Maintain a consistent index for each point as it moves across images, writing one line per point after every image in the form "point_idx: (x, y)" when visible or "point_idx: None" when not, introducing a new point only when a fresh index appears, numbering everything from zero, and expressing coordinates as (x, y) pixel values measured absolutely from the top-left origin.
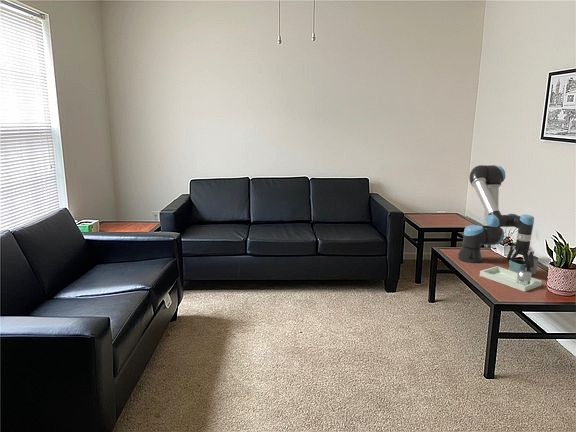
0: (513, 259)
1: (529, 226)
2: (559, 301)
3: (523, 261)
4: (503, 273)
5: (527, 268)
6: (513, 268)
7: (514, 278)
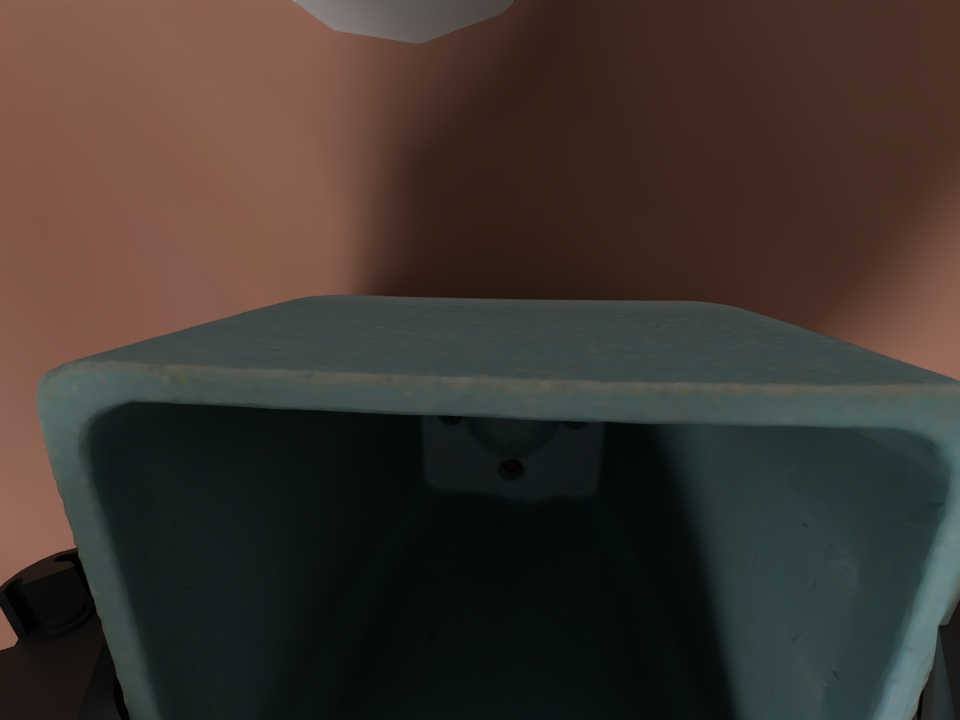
0: (99, 717)
1: None
2: None
3: (438, 405)
4: None
5: None
6: (475, 680)
7: None
